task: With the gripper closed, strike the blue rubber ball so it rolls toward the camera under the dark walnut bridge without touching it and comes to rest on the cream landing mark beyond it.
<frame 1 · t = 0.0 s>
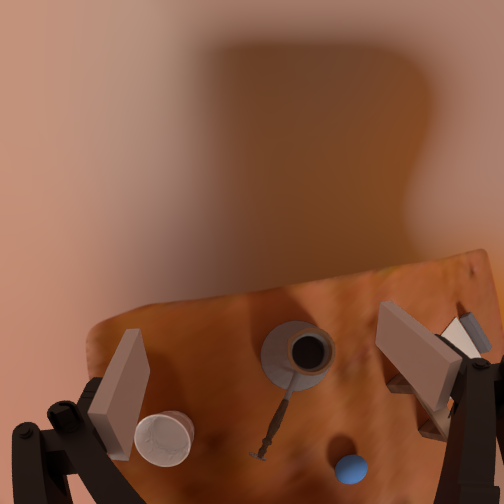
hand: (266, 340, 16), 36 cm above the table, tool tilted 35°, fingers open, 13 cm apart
ball: (351, 469, 40), on the table
stopper wall: (471, 334, 53), on the table
white cup: (174, 428, 44), on the table
coffee pot: (279, 382, 49), on the table
landing mark: (454, 357, 51), on the table
bridge: (410, 406, 47), on the table
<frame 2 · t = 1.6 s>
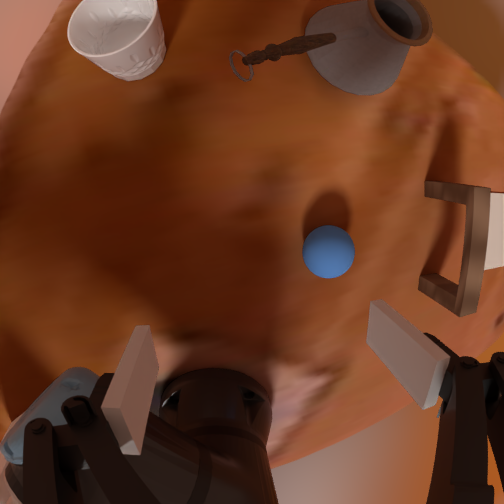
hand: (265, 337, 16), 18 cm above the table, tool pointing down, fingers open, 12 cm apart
ball: (328, 251, 32), on the table
white cup: (136, 54, 27), on the table
milk: (48, 435, 38), on the table
coffee pot: (311, 69, 30), on the table
landing mark: (493, 231, 38), on the table
bridge: (431, 236, 36), on the table
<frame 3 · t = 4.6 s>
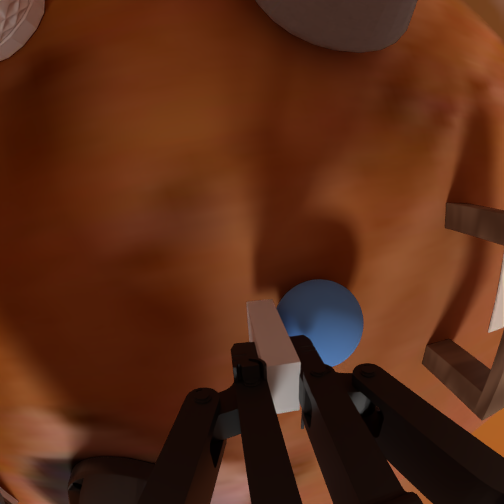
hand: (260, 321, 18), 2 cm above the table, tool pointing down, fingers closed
ball: (318, 324, 18), on the table
white cup: (11, 26, 13), on the table
coffee pot: (259, 16, 16), on the table
bridge: (449, 288, 23), on the table
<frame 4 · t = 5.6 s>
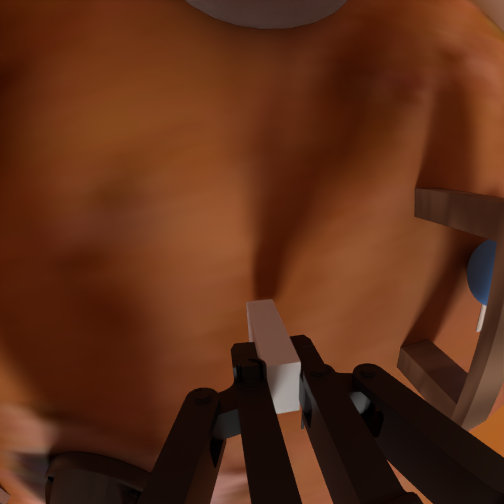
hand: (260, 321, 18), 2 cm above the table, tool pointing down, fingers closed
ball: (496, 272, 19), on the table
coffee pot: (190, 6, 15), on the table
bridge: (424, 284, 21), on the table
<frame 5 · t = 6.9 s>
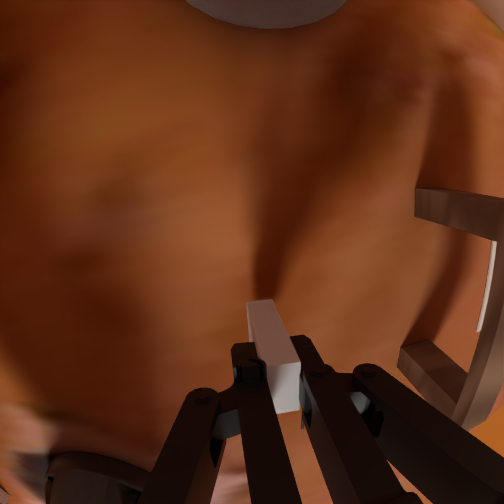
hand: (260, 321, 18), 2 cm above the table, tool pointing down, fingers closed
coffee pot: (190, 6, 15), on the table
bridge: (424, 284, 21), on the table
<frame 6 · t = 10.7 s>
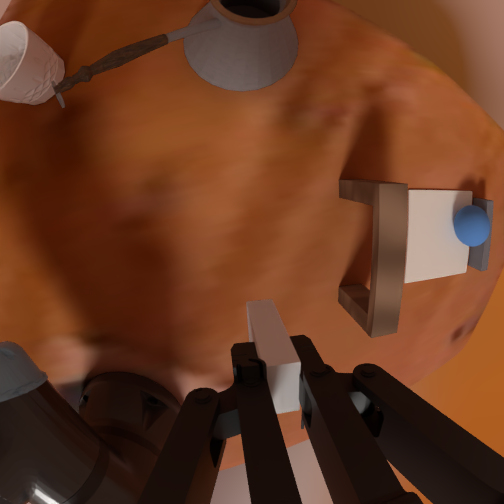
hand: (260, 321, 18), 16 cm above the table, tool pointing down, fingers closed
ball: (472, 225, 34), on the table
stopper wall: (474, 232, 37), on the table
white cup: (43, 79, 26), on the table
coffee pot: (199, 71, 29), on the table
landing mark: (441, 234, 37), on the table
bridge: (351, 242, 35), on the table
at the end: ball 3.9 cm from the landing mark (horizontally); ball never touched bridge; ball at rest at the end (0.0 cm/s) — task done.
